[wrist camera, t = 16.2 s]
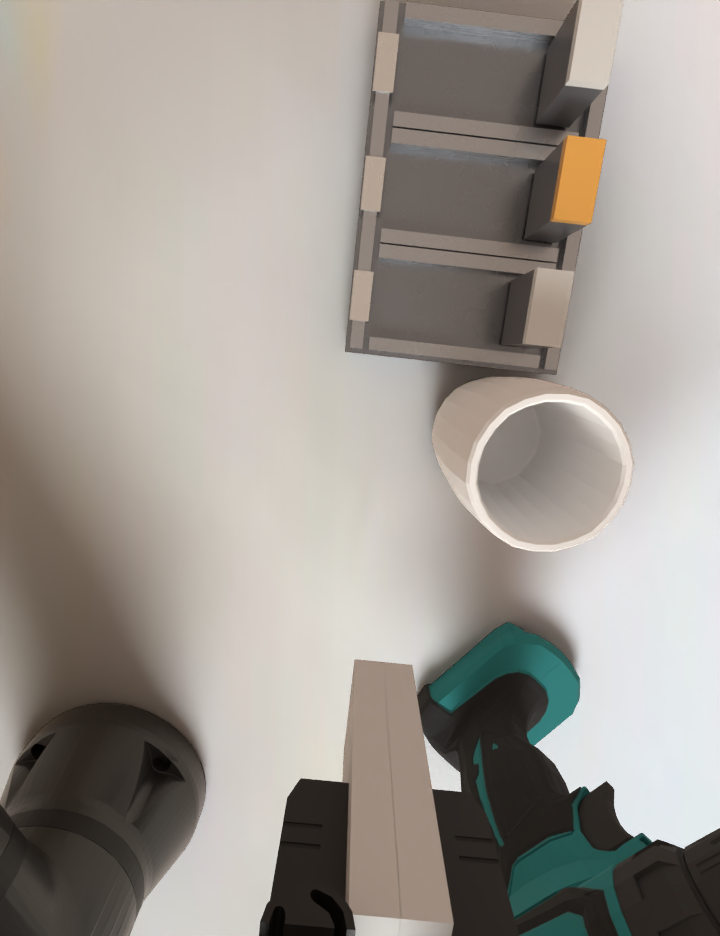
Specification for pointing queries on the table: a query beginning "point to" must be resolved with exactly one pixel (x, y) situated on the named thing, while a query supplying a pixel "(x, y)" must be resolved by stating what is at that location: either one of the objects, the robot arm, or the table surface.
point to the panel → (454, 185)
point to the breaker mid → (565, 189)
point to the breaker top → (579, 61)
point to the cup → (533, 460)
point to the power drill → (558, 804)
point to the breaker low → (538, 309)
